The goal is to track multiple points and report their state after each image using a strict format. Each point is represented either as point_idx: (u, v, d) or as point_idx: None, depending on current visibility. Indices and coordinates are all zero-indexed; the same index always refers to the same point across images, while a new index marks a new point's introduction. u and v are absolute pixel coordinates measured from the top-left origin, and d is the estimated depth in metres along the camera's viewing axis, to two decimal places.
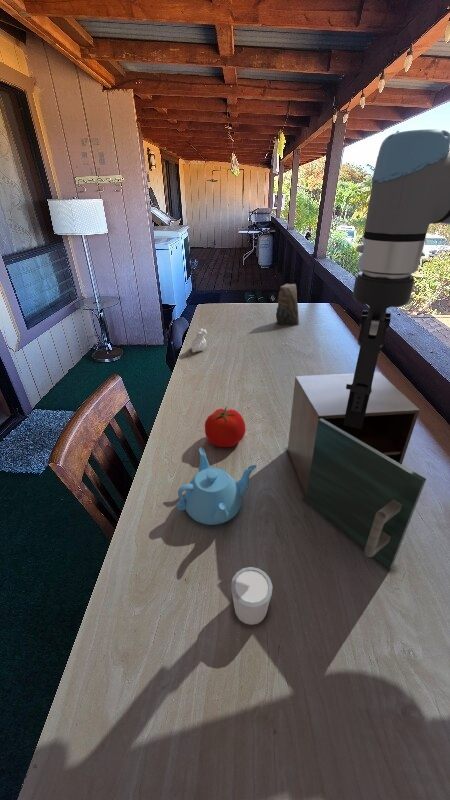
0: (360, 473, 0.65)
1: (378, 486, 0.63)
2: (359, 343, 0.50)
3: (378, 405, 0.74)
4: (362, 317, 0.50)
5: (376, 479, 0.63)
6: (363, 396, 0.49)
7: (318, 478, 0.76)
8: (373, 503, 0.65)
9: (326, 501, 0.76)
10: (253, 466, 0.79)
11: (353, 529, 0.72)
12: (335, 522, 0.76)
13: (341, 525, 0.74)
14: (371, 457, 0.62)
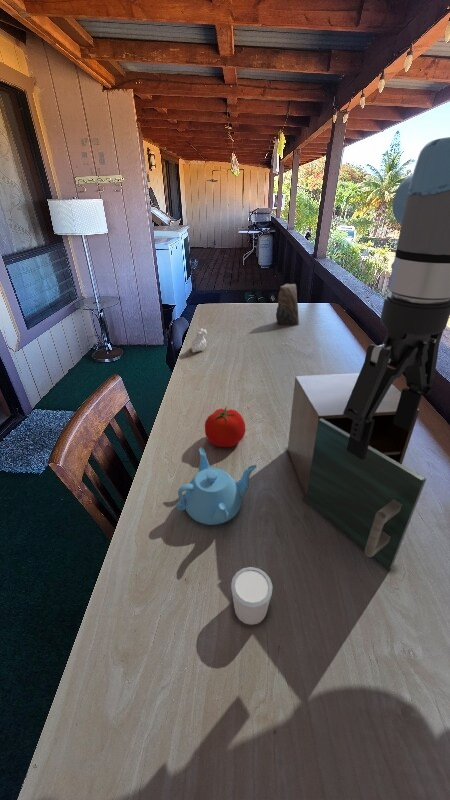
0: (360, 473, 0.65)
1: (378, 486, 0.63)
2: None
3: None
4: None
5: (376, 479, 0.63)
6: (360, 424, 0.46)
7: (318, 478, 0.76)
8: (373, 503, 0.65)
9: (326, 501, 0.76)
10: (253, 466, 0.79)
11: (353, 529, 0.72)
12: (335, 522, 0.76)
13: (341, 525, 0.74)
14: (371, 457, 0.62)
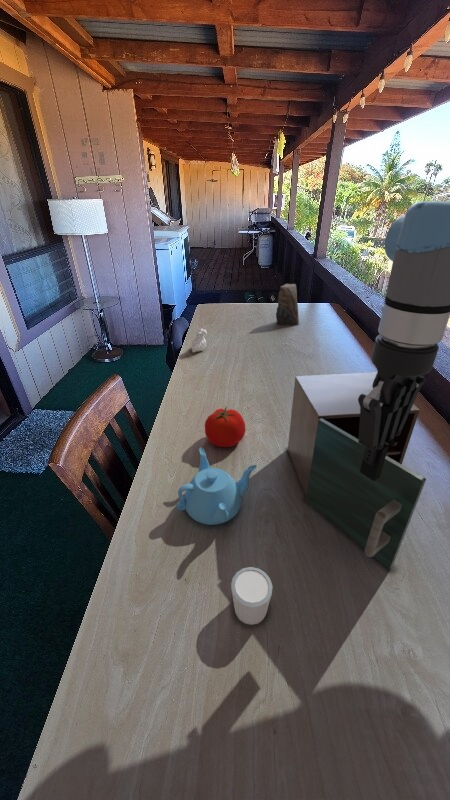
0: (360, 473, 0.65)
1: (378, 486, 0.63)
2: None
3: None
4: None
5: None
6: (373, 451, 0.53)
7: (318, 478, 0.76)
8: (373, 503, 0.65)
9: (326, 501, 0.76)
10: (253, 466, 0.79)
11: (353, 529, 0.72)
12: (335, 522, 0.76)
13: (341, 525, 0.74)
14: None
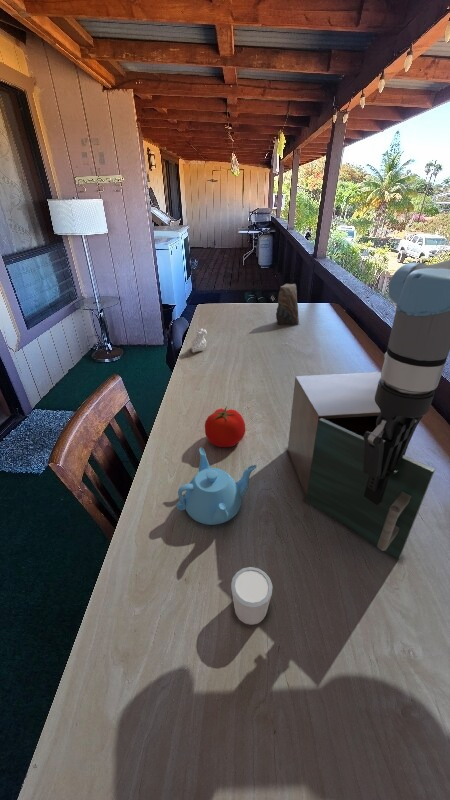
0: None
1: None
2: None
3: None
4: None
5: None
6: (376, 479, 0.58)
7: (319, 477, 0.76)
8: None
9: (329, 499, 0.76)
10: (253, 466, 0.79)
11: (359, 524, 0.73)
12: (339, 519, 0.76)
13: (346, 521, 0.75)
14: None
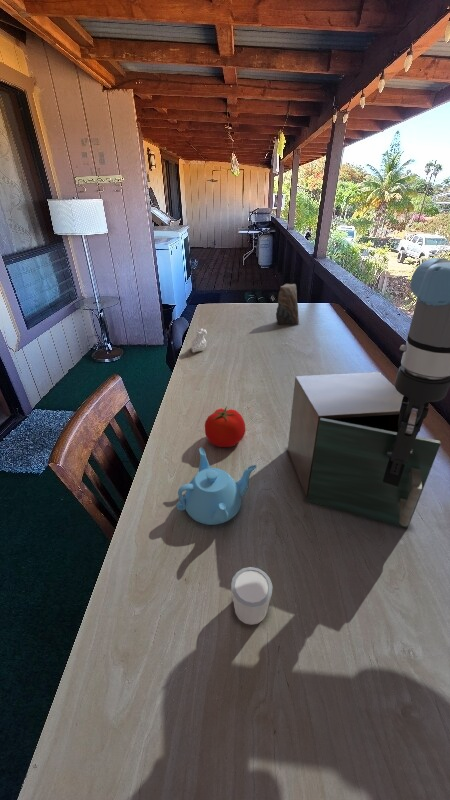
0: (373, 456, 0.70)
1: None
2: None
3: (378, 405, 0.74)
4: (402, 407, 0.57)
5: None
6: (400, 463, 0.62)
7: (322, 475, 0.77)
8: None
9: (333, 493, 0.78)
10: (253, 466, 0.79)
11: (367, 508, 0.76)
12: (345, 509, 0.79)
13: (352, 509, 0.78)
14: (385, 438, 0.67)
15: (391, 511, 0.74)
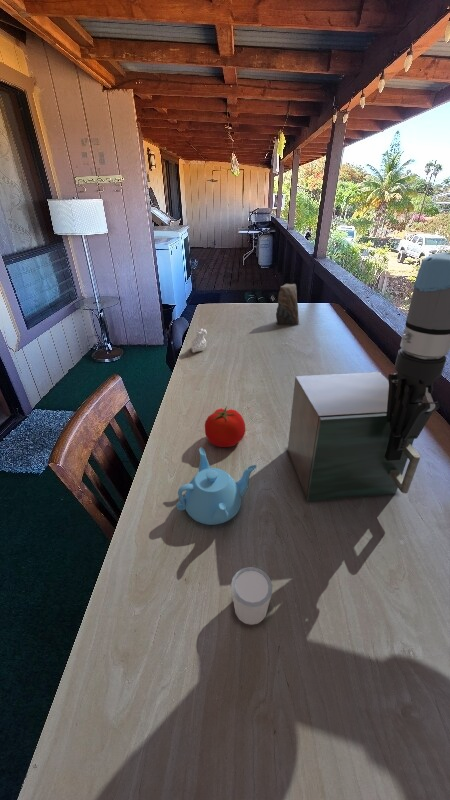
0: (368, 440, 0.74)
1: (385, 440, 0.75)
2: (404, 406, 0.64)
3: (378, 405, 0.74)
4: (409, 389, 0.62)
5: (384, 436, 0.74)
6: (406, 439, 0.68)
7: (323, 472, 0.78)
8: (381, 455, 0.77)
9: (333, 485, 0.80)
10: (253, 466, 0.79)
11: (362, 488, 0.82)
12: (343, 496, 0.82)
13: (350, 493, 0.82)
14: (379, 421, 0.72)
15: (383, 483, 0.81)
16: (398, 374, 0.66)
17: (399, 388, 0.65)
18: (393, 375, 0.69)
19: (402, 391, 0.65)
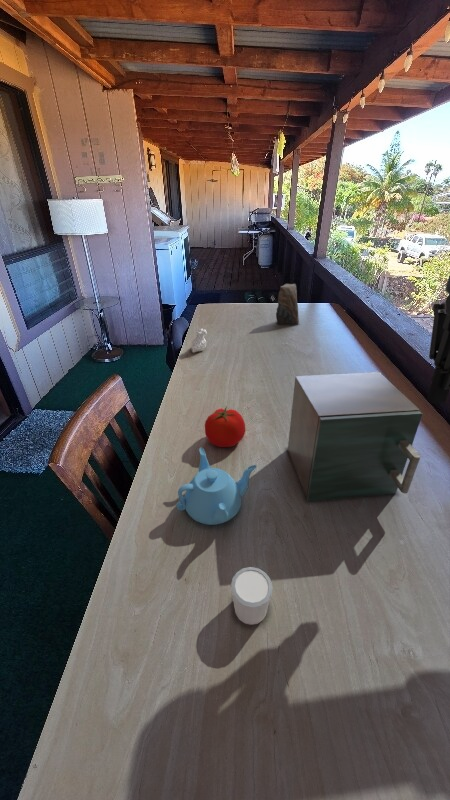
0: (368, 440, 0.74)
1: (385, 440, 0.75)
2: None
3: (378, 405, 0.74)
4: None
5: (384, 436, 0.74)
6: None
7: (323, 472, 0.78)
8: (381, 455, 0.77)
9: (333, 485, 0.80)
10: (253, 466, 0.79)
11: (362, 488, 0.82)
12: (343, 496, 0.82)
13: (350, 493, 0.82)
14: (379, 421, 0.72)
15: (383, 483, 0.81)
16: (447, 301, 0.59)
17: (449, 316, 0.58)
18: (439, 305, 0.61)
19: None
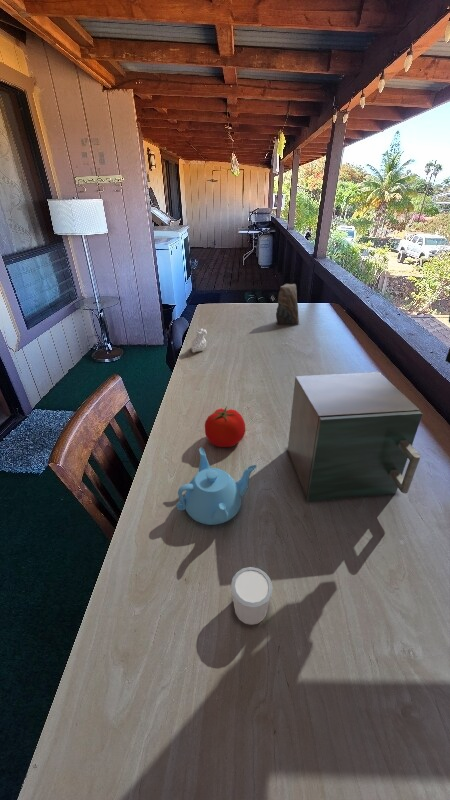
0: (368, 440, 0.74)
1: (385, 440, 0.75)
2: None
3: (378, 405, 0.74)
4: None
5: (384, 436, 0.74)
6: None
7: (323, 472, 0.78)
8: (381, 455, 0.77)
9: (333, 485, 0.80)
10: (253, 466, 0.79)
11: (362, 488, 0.82)
12: (343, 496, 0.82)
13: (350, 493, 0.82)
14: (379, 421, 0.72)
15: (383, 483, 0.81)
16: None
17: None
18: None
19: None
